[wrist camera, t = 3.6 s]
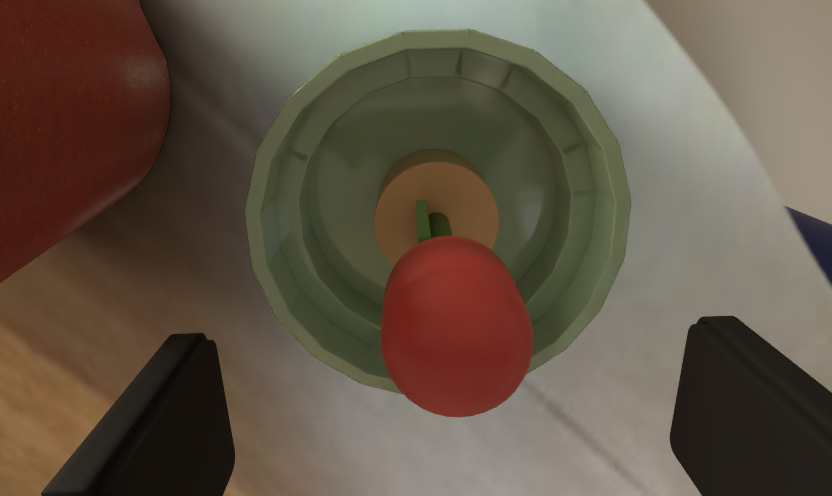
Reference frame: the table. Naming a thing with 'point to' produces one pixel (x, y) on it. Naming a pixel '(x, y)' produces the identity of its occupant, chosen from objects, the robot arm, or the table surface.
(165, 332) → the table surface
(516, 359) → the tulip
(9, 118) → the flower pot
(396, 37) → the bowl
